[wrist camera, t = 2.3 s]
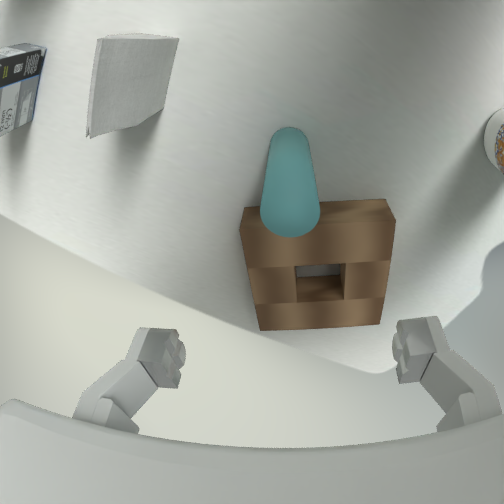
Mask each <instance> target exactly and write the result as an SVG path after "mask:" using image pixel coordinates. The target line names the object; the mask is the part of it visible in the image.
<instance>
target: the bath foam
mask: <svg viewBox="0 0 504 504" xmlns="http://www.w3.org/2000/svg"><path fill="white" fill-rule="evenodd" d="M484 147H485V151H486V154H487V157H488V159H489V160H490V162H491V163H492V164H493V165H494V166H495V167H496V168H498V169H499V170H500V171H501V172H502V173H503V174H504V108H502V109H500V110H498V111H497V112H496V113H495V114H494V115H493V116H492V117H491V118H490V120H489V122H488V124H487V126H486V129H485V134H484Z"/></svg>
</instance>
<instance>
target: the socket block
mask: <svg viewBox="0 0 504 504" xmlns="http://www.w3.org/2000/svg"><path fill="white" fill-rule="evenodd" d="M319 206H320V217H319V220H318V222H317V224H316V225H315V227H314V228H313V229H312V230H311V231H309V232H308V233H306V234H304V235H302V236H298V237H283V236H279V235H277V234H274V233H273V232H271V231H270V230H269V229H268V228H267V227H266V226H265V225H264V223H263V222H262V219H261V216H260V206H257V207H245V208H244V212H243V217H242V221H241V225H240V229H239V230H240V235H241V240H242V245H243V250H244V255H245V260H246V265H247V270H248V275H249V280H250V284H251V289H252V294H253V299H254V304H255V309H256V314H257V319H258V323H259V328H260V331H271V330H300V329H321V328H338V327H352V326H365V325H377V324H380V320H381V315H382V310H383V304H384V299H385V293H386V288H387V282H388V276H389V269H390V263H391V256H392V248H393V241H394V232H395V224H396V220H395V218H394V216H393V214H392V212H391V210H390V208H389V206H388V204H387V202H386V200H385V199H372V200H350V201H331V202H319ZM339 263H341V264H340V275H331V276H314V277H297V274H296V266H305V265H322V264H339Z"/></svg>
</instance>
